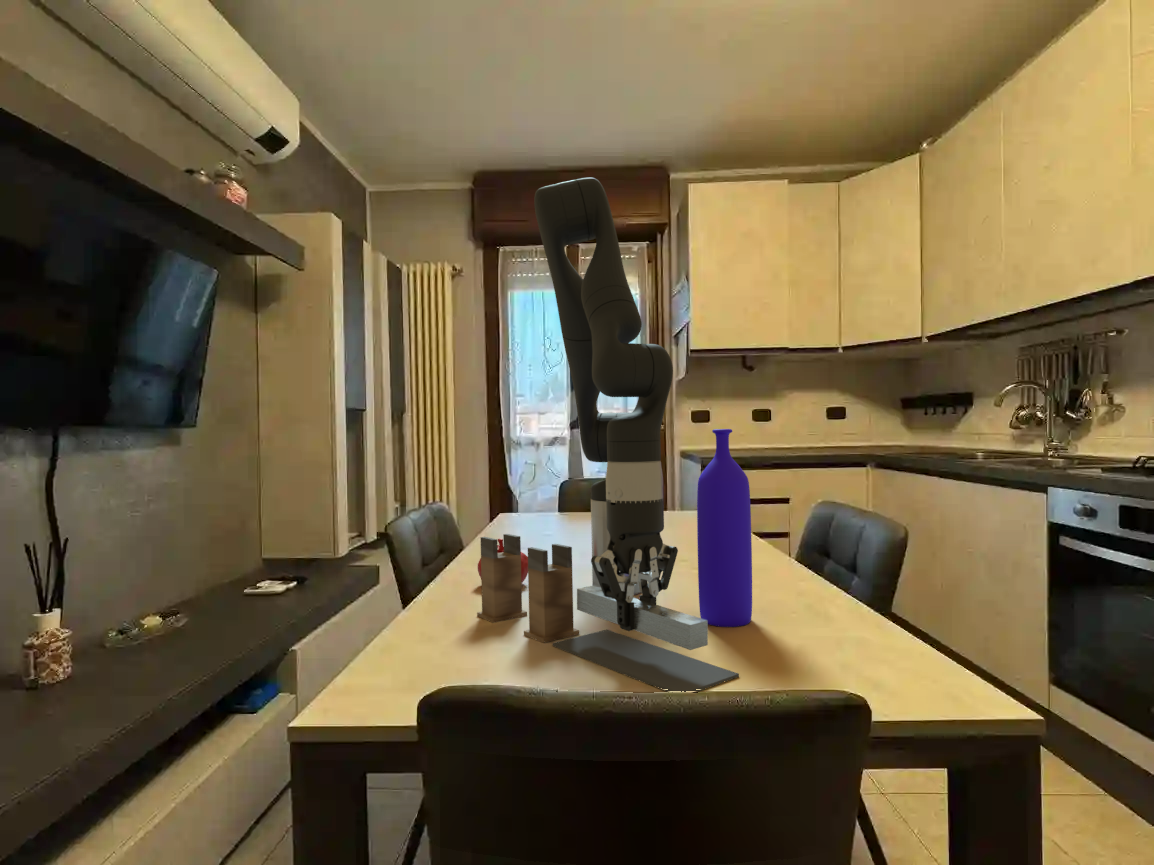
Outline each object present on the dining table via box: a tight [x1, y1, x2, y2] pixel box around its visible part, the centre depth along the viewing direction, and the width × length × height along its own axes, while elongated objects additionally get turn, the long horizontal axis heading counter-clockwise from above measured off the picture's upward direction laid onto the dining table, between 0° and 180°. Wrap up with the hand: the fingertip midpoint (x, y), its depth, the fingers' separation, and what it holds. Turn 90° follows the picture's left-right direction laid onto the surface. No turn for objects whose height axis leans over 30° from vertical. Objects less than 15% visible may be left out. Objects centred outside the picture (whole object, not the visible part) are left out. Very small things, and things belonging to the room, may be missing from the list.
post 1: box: [476, 533, 528, 623], centre depth 116 cm, size 6×5×13 cm
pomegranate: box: [477, 538, 528, 584], centre depth 139 cm, size 10×10×9 cm
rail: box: [576, 585, 709, 651], centre depth 93 cm, size 3×22×3 cm, turn 37°
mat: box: [552, 629, 740, 692], centre depth 93 cm, size 10×25×1 cm, turn 38°
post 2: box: [523, 543, 580, 644], centre depth 105 cm, size 6×5×13 cm
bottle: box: [696, 428, 753, 628], centre depth 111 cm, size 8×8×30 cm
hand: (637, 626), depth 93 cm, fingers closed on rail, 3 cm apart
